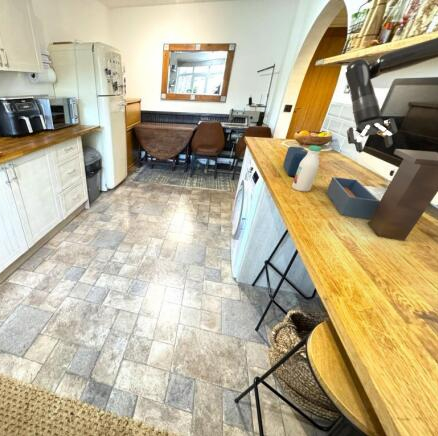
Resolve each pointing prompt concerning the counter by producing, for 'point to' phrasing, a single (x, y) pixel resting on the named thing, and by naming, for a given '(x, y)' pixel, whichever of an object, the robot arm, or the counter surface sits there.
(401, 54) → the robot arm
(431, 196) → the shelf stand
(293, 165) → the radio
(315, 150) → the milk bottle
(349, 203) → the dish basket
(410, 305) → the counter surface
